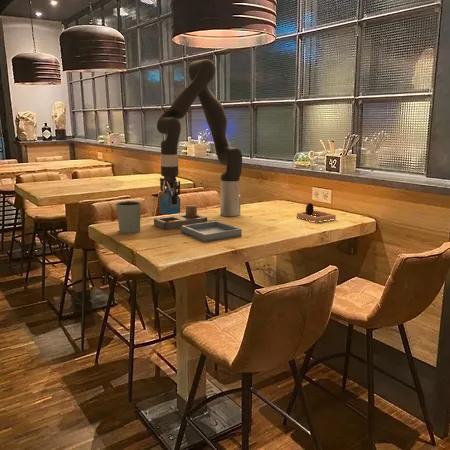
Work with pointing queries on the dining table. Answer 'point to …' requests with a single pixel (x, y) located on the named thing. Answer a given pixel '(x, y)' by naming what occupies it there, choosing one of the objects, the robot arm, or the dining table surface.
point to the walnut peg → (191, 211)
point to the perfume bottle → (169, 203)
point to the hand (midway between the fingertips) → (170, 202)
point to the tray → (211, 231)
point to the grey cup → (129, 216)
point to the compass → (310, 210)
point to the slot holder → (177, 221)
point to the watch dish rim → (323, 217)
